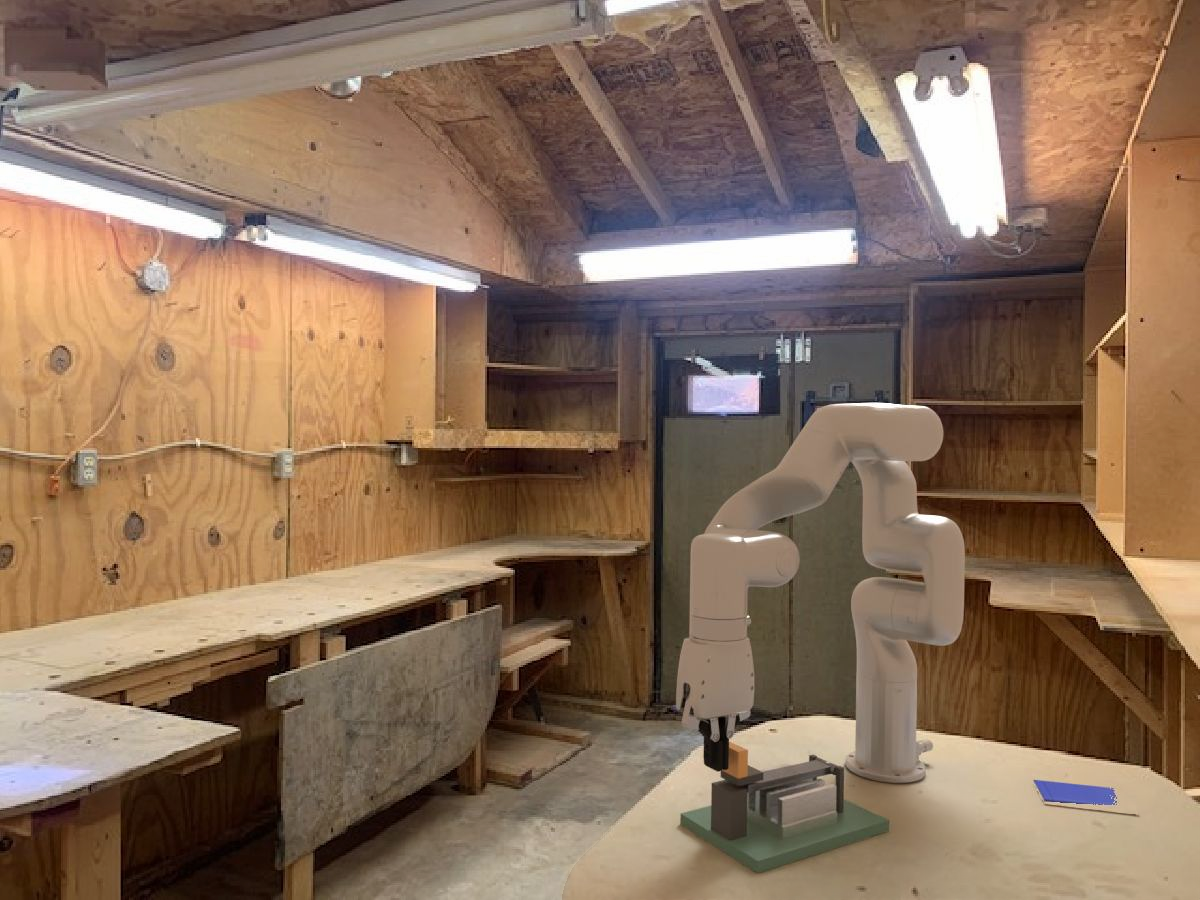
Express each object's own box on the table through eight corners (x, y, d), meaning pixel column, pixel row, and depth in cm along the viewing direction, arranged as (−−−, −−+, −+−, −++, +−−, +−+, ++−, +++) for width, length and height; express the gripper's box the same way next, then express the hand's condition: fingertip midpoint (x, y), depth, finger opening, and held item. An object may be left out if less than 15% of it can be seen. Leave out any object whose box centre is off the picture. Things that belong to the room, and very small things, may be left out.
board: (805, 790, 133) (806, 740, 133) (889, 830, 119) (889, 774, 119) (680, 824, 121) (681, 768, 121) (757, 873, 107) (758, 810, 107)
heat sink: (785, 796, 127) (786, 763, 127) (837, 822, 118) (837, 786, 118) (733, 810, 122) (733, 775, 122) (782, 838, 113) (783, 800, 113)
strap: (820, 766, 126) (820, 756, 126) (838, 774, 123) (839, 764, 123) (732, 785, 117) (732, 775, 117) (749, 795, 114) (750, 784, 114)
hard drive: (1121, 787, 134) (1033, 778, 137) (1138, 808, 126) (1044, 797, 129) (1121, 797, 134) (1033, 788, 137) (1137, 819, 126) (1044, 808, 129)
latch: (745, 771, 119) (745, 738, 119) (763, 779, 116) (763, 746, 116) (720, 777, 116) (721, 743, 116) (738, 786, 113) (738, 752, 113)
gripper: (742, 618, 121) (740, 749, 121) (655, 628, 113) (653, 768, 113) (780, 628, 114) (778, 766, 114) (690, 639, 106) (687, 788, 107)
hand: (716, 767), depth 114 cm, fingers closed
